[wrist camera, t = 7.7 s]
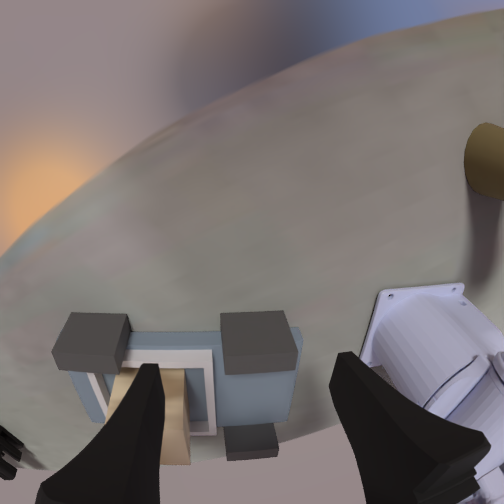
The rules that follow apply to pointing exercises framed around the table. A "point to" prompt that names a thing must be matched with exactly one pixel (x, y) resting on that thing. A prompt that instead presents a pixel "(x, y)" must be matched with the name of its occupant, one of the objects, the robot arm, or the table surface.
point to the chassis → (195, 371)
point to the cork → (486, 160)
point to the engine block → (175, 411)
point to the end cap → (9, 453)
